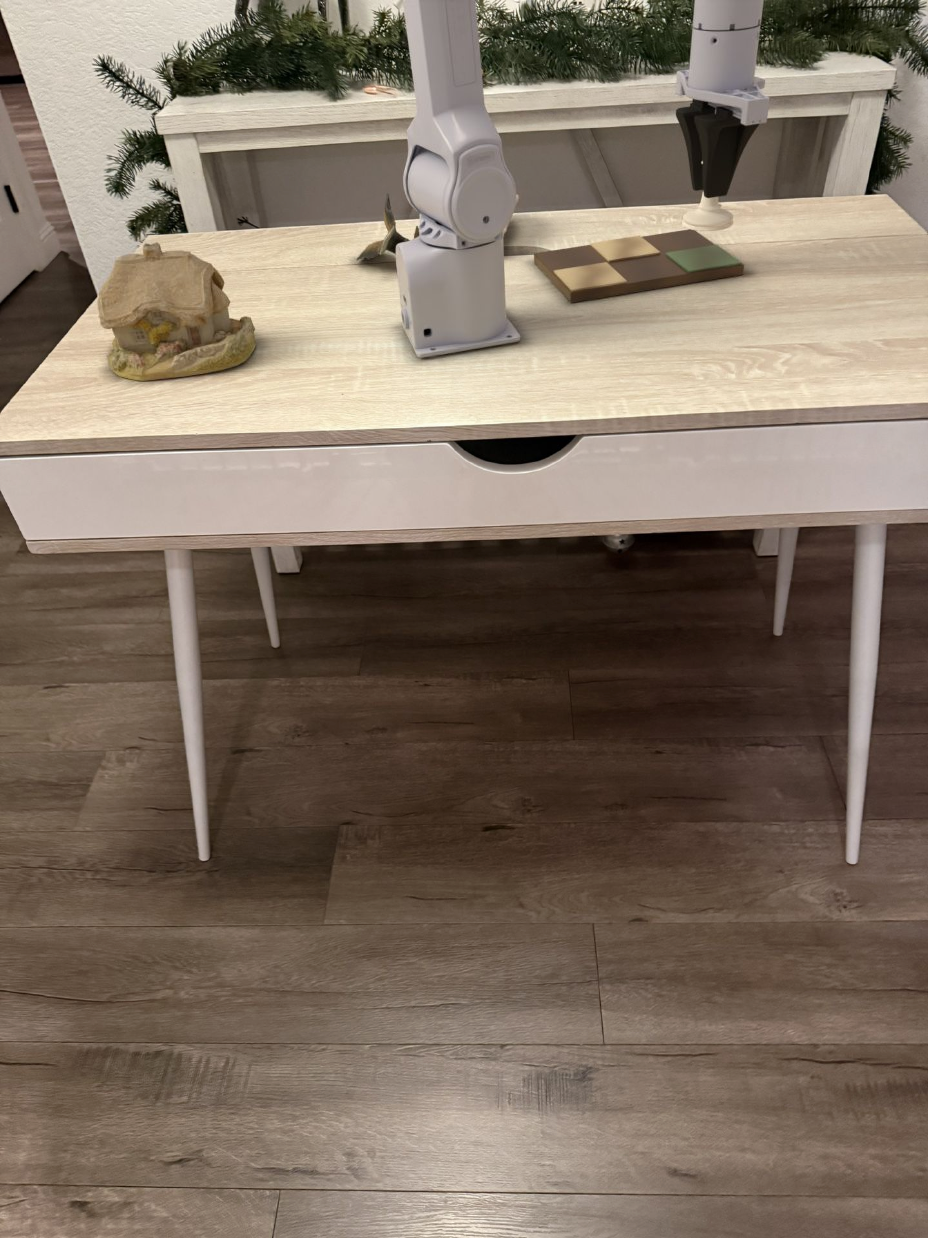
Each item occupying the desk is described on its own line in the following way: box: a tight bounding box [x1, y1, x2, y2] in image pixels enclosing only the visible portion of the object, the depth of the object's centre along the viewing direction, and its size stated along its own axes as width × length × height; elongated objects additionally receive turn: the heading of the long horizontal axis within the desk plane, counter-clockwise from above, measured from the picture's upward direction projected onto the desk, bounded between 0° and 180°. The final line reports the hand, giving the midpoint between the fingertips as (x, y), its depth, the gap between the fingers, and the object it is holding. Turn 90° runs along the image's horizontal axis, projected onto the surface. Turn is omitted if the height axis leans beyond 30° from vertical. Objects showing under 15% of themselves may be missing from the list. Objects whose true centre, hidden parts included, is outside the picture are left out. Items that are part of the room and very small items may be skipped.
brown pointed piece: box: [356, 193, 419, 261], centre depth 98 cm, size 8×7×9 cm
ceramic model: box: [96, 242, 256, 382], centre depth 82 cm, size 14×11×10 cm
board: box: [533, 229, 745, 303], centre depth 94 cm, size 18×12×1 cm, turn 104°
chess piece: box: [681, 109, 734, 232], centre depth 87 cm, size 5×5×10 cm
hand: (709, 192), depth 88 cm, fingers closed on chess piece
